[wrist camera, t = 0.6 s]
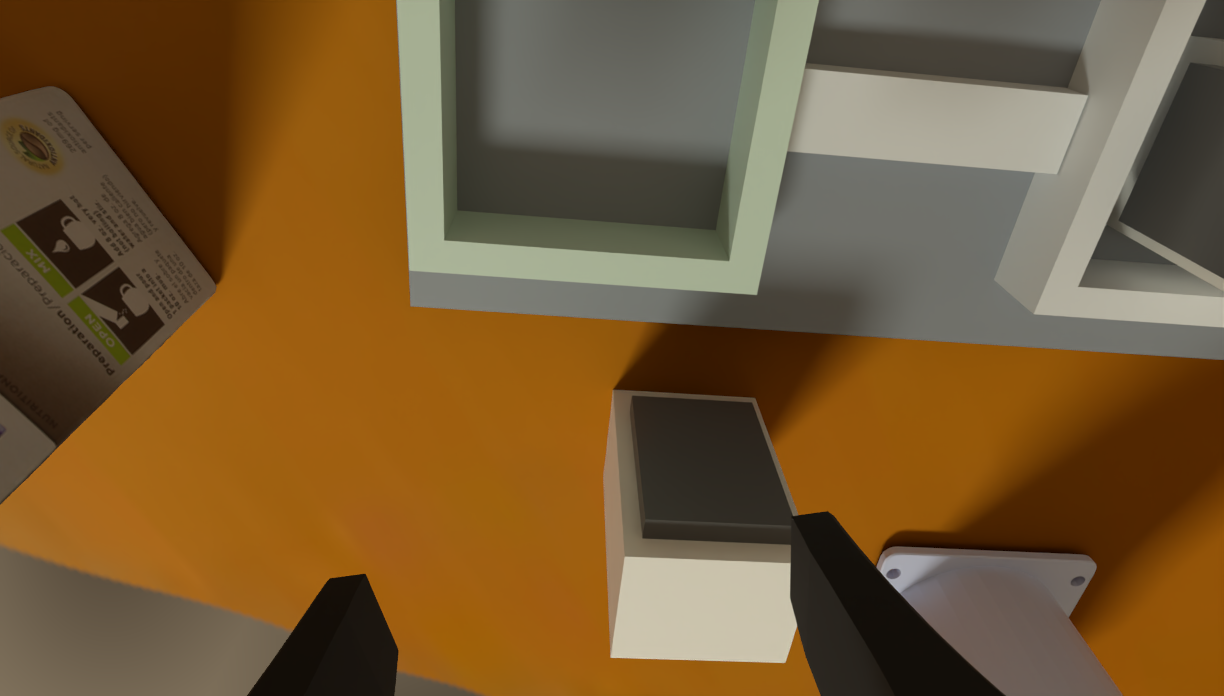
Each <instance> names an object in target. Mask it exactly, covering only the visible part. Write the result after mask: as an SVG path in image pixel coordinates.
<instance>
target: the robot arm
mask: <svg viewBox="0 0 1224 696" xmlns="http://www.w3.org/2000/svg"><path fill="white" fill-rule="evenodd" d="M1096 568H1097V566H1096V564H1095V562H1094V561H1093V560H1092V559H1091V558H1090V557H1089V556H1088V555H1082V554H1059V553H1036V552H1013V551H990V550H967V549H944V548H921V547H898V546H897V547H891V548H888V549H887V550H885V551H884V552H883V553H882V555H881V556H880V559H879V562H878V564H877V567H875V565H874V564H873V563H872V562H871V561H870V560H869V559H868V557H867V556H866V555H865V554H864V553H863V551H862V550H861V549H860V548H859V547H858V546H857V544H856V543H855V542H854V541H853V539H852V538H851V537H850V536H849V535H848V533H847V532H846V531H845V530H844V528H843V527H842V526H841V525H840V523H839V522H838V521H837V519H836V518H835V517H834V516H833V515H832V514H830V513H829V512H828V511H827V512H820V513H812V514H805V515H798V516H791V567H790V600H791V603H792V607H793V611H794V615H795V619H796V622H797V626H798V630H799V633H800V637H801V641H802V644H803V648H804V651H805V655H806V658H807V661H808V663H809V666H810V669H811V671H812V674H813V676H814V679H815V682H816V684H817V687H818V689H819V692H820V694H821V696H1123V695H1122V693H1121V692H1120V691H1119V689H1118V688H1117V686H1116V685H1115V683H1114V682H1113V681H1112V679H1111V678H1110V676H1109V675H1108V673H1107V672H1106V671H1105V669H1104V668H1103V666H1102V665H1101V663H1100V662H1099V661H1098V659H1097V658H1096V656H1095V655H1094V653H1093V652H1092V651H1091V649H1090V648H1089V646H1088V645H1087V643H1086V642H1085V641H1084V639H1083V638H1082V636H1081V635H1080V633H1079V632H1078V631H1077V629H1076V628H1075V626H1074V625H1073V624H1072V622H1071V621H1070V619H1069V616H1070V614H1071V613H1072V611H1073V609H1074V608H1075V606H1076V604H1077V602H1078V601H1079V599H1080V597H1081V596H1082V594H1083V592H1084V590H1085V589H1086V587H1087V585H1088V584H1089V582H1090V580H1091V578H1092V577H1093V575H1094V573H1095V571H1096ZM891 569H893V570H891ZM889 570H890V571H889ZM397 661H398V648H397V646H396V643H395V641H394V639H393V636H392V634H391V632H390V629H389V627H388V625H387V623H386V620H385V618H384V616H383V613H382V611H381V609H380V606H379V604H378V602H377V599H376V597H375V595H374V593H373V590H372V588H371V586H370V583H369V581H368V579H367V576H366V574H360V575H352V576H345V577H338V578H330V579H329V580H328V581H327V582H326V584H325V585H324V586H323V588H322V589H321V591H320V592H319V594H318V595H317V597H316V598H315V599H314V601H313V602H312V604H311V605H310V607H309V608H308V610H307V611H306V613H305V614H304V616H303V617H302V618H301V620H300V621H299V623H298V624H297V626H296V627H295V629H294V630H293V632H292V633H291V635H290V636H289V637H288V639H287V640H286V642H285V643H284V645H283V646H282V648H281V649H280V650H279V652H278V654H277V655H276V656H275V658H274V659H273V661H272V662H271V663H270V665H269V666H268V667H267V669H266V670H265V672H264V673H263V674H262V676H261V677H260V678H259V680H258V681H257V683H256V684H255V685H254V687H253V688H252V690H251V691H250V692H249V694H248V695H247V696H394V692H395V684H396V672H397Z"/></svg>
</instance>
